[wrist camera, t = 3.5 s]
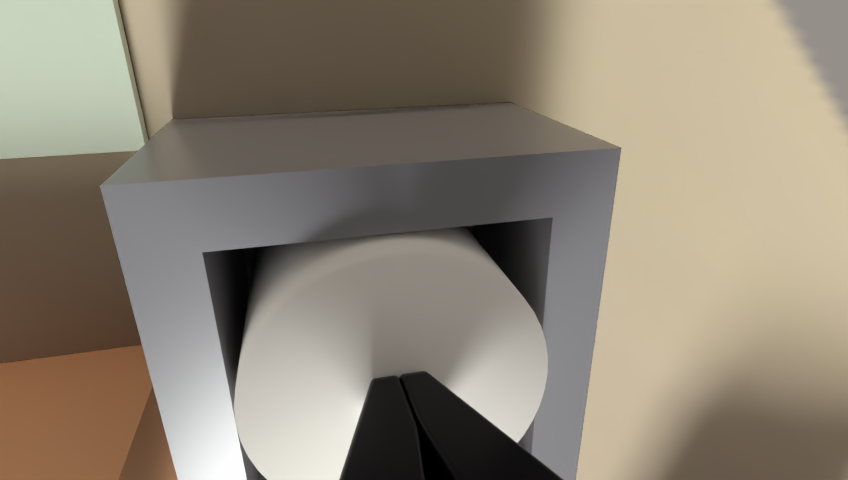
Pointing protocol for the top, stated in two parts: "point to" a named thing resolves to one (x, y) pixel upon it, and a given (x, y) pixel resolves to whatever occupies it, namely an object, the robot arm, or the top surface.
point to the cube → (82, 419)
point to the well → (345, 218)
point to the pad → (66, 80)
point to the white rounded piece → (377, 341)
